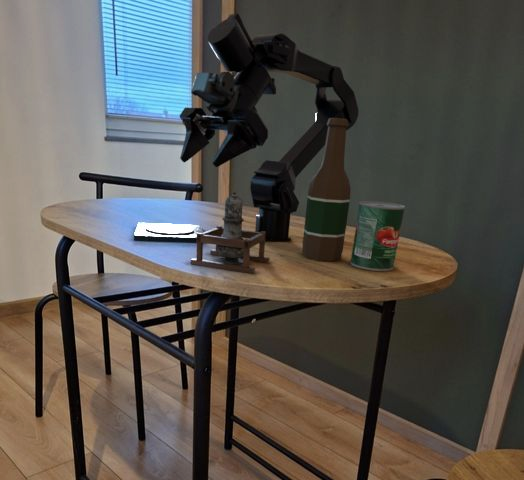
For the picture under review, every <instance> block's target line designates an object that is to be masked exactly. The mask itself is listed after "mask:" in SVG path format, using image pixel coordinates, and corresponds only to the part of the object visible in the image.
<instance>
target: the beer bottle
mask: <svg viewBox="0 0 524 480" xmlns="http://www.w3.org/2000/svg"><path fill="white" fill-rule="evenodd" d="M327 126H328V131H327V137H326V143H325V146H324V147H323V154H322V160H321V162H320V163H321V164H320V166H319V169H318V170H317V171H316V172H315V174H314V175H313V176H312V179H311V181H310V183H309V186H308V192H307V197H306V208H305V217H304V228H303V237H302V248H301V249H302V250H301V251H302V252H301V253H302V255H303V256H304V257H305V258H306V259H309V260H313V261H318V262H335V261H339V260H341V259H342V257H343V250H344V246H345V245H344V244H345V237H346V230H347V224H348V217H349V207H350V201H351V183H350V179H349V177H348V175H347V173H346V171H345V155H346V154H345V152H346V140H347V131H346V128H347V127H348V126H349V125H348V120H347V119H342V118H330V119H328V122H327Z"/></svg>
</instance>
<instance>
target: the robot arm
mask: <svg viewBox="0 0 524 480" xmlns="http://www.w3.org/2000/svg"><path fill="white" fill-rule="evenodd" d="M206 40H207V43H208V44H209V46H210V48H211V49H212V51H213V52H214V54H215V56H216V58H217V59H218V61H219V62H220V63H221V65H222V67H223V68H224V70H225V71H220V73H212V72H197V73H195V77H194V80H193V84H192V86H191V87H192V88H191V91H190V92H191V94H192V95H193V96H194V97H195V96H196V97H198V98H200V99H201V100H202V101H204V102H206V105H205V107H206V109H207V110H208V112H211V115H207V113H206V111H204V109H203V108H202V107H184V108H183V110H182V111H181V112H180V114H179V118H180V120H181V122H182V124H183V126H184V127H185V137H184V142H183V145H182V149H181V153H180V157H179V158H180V161H182V163H187V162H188V161H189V160H191V159H192V158H193V157H194V156H196V155H197V154H198V153H199V152H201V150H203V149H204V148H205V147H207V146H208V145H209V144H210V140H211V139H213V137H214V136H215V134H216V130H217V131H223V132H224V133H226V136H225V137H224V139H223V141H222V142H221V145H220V147H219V148H218V150H217V152H216V154H215V156H214V158H213V160H212V162H211V163H212V165H213V166H214V168H218V167H221V166H222V165H224V164H225V163H228V162H229V161H231V160H233V159H234V158H236V157H238V156H240V155H242V154H244V153H246V152H248V151H250V150H255V149H256V148H257V147H263V146H264V145H265V143H266V141H267V140H268V139H269V129H268V127H267V126H266V124H265V122H264V121H263V119H262V117H261V116H260V114H259V112H258V110H257V108H256V106H257V104H258V103H259V101H260V99H261V98H262V96H263V95H273V96H275V95H276V94H277V86H276V84H275V82H276V81H275V78H274V77H272V76H271V75H270V73H284V74H287V75H290V76H292V77H295V78H298V79H300V80H302V81H305V82H308V83H311V84H313V85H315V87H316V88H315V89H316V93H315V99H314V100H315V101H314V104H315V106H316V112H315V120H314V121H315V122H314V123H313V124H312V125H311V126H310V127H309V128H308V129H307V131H305V132H304V133H303V135H302V136H300V138H299V139H298V140H297V141H296V142H295V143H294V144H293V146H291V147H290V149H289V150H288V151H287V152H286V153H285V154H284V155H283V157H281V158H280V159H279V160H278V161H277V160H268V159H267V160H264V161H263V162H262V164H261V165H260V167H259V168H257V169H256V170H254V171H253V174H254V175H253V176H252V177H251V180H250V187H249V189H250V194H251V198H252V205H253V207H254V208H258V214H256V216H255V230H254V232H261V231H263V232H266V237H265V242H267V241H268V242H269V241H272V242H273V241H279V242H280V241H283V242H286V241H287V242H289V241H292V238H291V237H289V235H290V234H289V233H290V223H291V214H292V213H296V212H297V211H298V208H299V204H300V201H299V199H298V197H297V195H296V194H295V192H294V191H295V189H296V180H297V178H298V176H300V174H301V173H302V172H303V171H304V170H305V168H306V167H307V166H308V165H309V164H310V162H312V161H313V159H314V158H315V157H316V156H317V155H318V154H319V152H320V151H322V149H324V148H325V143H326V137H327V131H328V126H327V122H328V119H330V118H342V119H347V120H348V125H349V126H348V127H347V128H346V132H347V131H349V130H350V129H351V128H353V127H354V125H355V124H356V122H357V120H358V118H359V112H360V111H359V105H358V101H357V98H356V95H355V92H354V90H353V89H352V87H351V86H350V85H349V84H348V83H347V81H346V80H345V77H344V73H343V70H342V68H341V67H339V66H337V65H332V64H330V63H329V62H325V60H322V59H318V57H314V56H312V55H310V54H308V53H306V52H303V51H301V50H300V49H299V48H298V46H297V43H296V42H295V41H294V40H293V39H292V38H291V37H289V36H288V35H286V34H285V33H281V32H280V33H270V34H261V35H255V36H254V37H253V39H251V37H250V34H249V32H248V30H247V29H246V27H245V25H244V22H243V19H242V17H241V16H240V14H239V13H231V14H229V15H228V16H227V18H226V19H224V20H222V21H220V22H219V23H218V24H216V26H215V27H213V28H211V29H210V30H209V32H208V34H207V38H206ZM232 73H235V75H233V74H232ZM328 88H332V90H333V92H334V93H335V94H336V96H337V97H338V98H328V96H327V94H326V91H327V89H328Z"/></svg>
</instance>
